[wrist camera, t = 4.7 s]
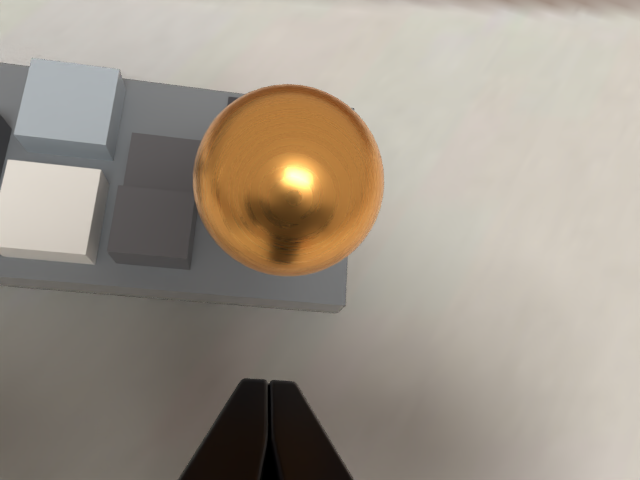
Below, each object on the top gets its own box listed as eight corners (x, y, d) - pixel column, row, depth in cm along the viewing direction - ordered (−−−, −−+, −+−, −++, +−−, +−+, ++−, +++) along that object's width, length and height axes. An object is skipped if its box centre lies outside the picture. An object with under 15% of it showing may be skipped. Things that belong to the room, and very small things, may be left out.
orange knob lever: (310, 183, 19) (386, 312, 8) (227, 174, 19) (172, 293, 7) (320, 99, 19) (421, 96, 7) (234, 88, 18) (188, 66, 7)
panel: (337, 313, 19) (354, 297, 17) (-254, 264, 17) (-346, 237, 14) (345, 128, 21) (363, 86, 19) (-181, 62, 19) (-250, 4, 16)
